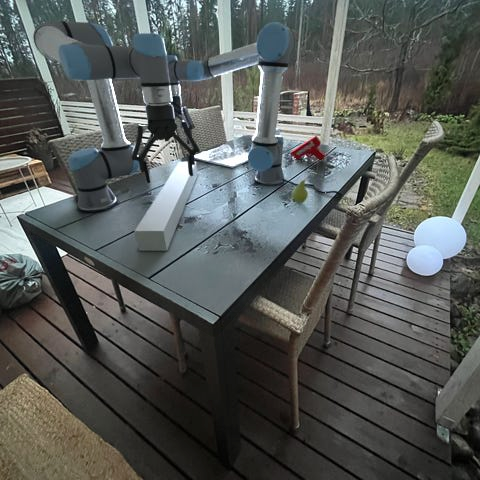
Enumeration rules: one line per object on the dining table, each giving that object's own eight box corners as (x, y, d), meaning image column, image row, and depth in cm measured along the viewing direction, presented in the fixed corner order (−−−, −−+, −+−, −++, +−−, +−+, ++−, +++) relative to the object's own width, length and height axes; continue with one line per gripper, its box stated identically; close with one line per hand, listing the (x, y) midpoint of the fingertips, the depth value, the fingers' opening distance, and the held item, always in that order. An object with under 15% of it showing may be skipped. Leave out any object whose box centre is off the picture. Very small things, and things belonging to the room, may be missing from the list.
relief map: (232, 167, 162) (232, 159, 160) (191, 158, 180) (190, 150, 177) (257, 157, 181) (258, 149, 178) (218, 149, 198) (217, 142, 196)
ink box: (274, 143, 212) (275, 127, 205) (279, 145, 208) (280, 128, 202) (267, 145, 206) (268, 129, 200) (272, 147, 203) (273, 130, 197)
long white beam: (181, 175, 153) (179, 161, 149) (197, 175, 153) (196, 161, 148) (139, 250, 90) (134, 231, 86) (166, 250, 90) (163, 230, 86)
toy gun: (328, 155, 171) (316, 134, 167) (328, 157, 168) (316, 136, 164) (303, 170, 181) (291, 151, 177) (303, 172, 178) (290, 152, 174)
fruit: (288, 200, 123) (290, 174, 116) (302, 197, 125) (305, 172, 119) (296, 206, 118) (299, 179, 111) (310, 203, 120) (314, 177, 114)
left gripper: (111, 108, 67) (130, 188, 79) (206, 102, 76) (211, 175, 88) (109, 105, 73) (127, 180, 85) (198, 100, 82) (203, 169, 93)
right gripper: (146, 94, 128) (153, 141, 139) (190, 97, 119) (195, 146, 131) (156, 93, 134) (162, 138, 145) (199, 95, 125) (203, 143, 136)
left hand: (170, 178), depth 86 cm, fingers open, 13 cm apart
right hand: (178, 142), depth 138 cm, fingers open, 13 cm apart
